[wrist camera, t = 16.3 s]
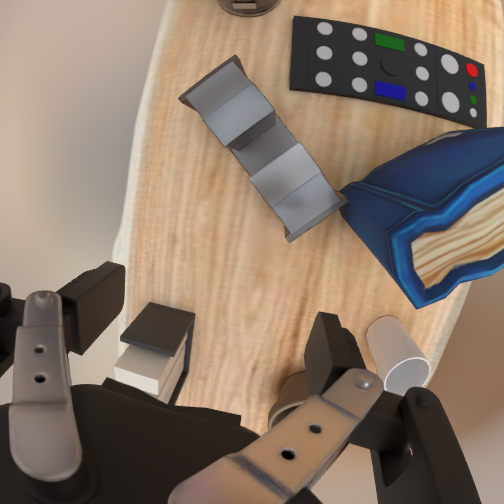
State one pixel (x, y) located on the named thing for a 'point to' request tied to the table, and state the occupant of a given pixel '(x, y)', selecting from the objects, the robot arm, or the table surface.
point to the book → (435, 213)
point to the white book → (144, 368)
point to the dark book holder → (164, 343)
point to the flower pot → (289, 398)
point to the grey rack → (264, 147)
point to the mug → (396, 356)
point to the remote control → (387, 70)
